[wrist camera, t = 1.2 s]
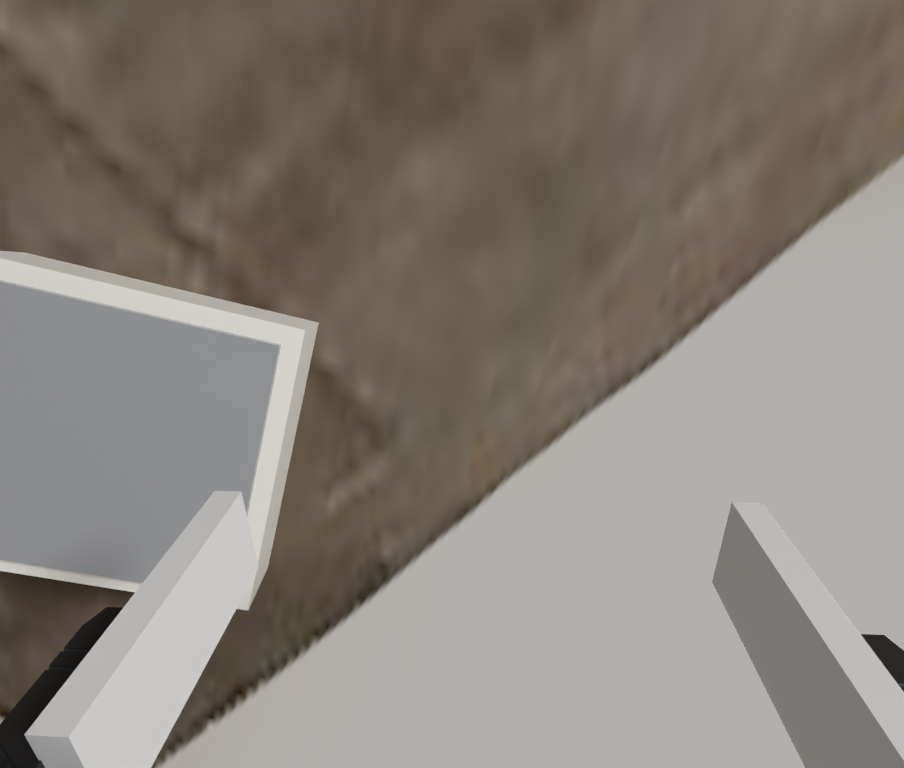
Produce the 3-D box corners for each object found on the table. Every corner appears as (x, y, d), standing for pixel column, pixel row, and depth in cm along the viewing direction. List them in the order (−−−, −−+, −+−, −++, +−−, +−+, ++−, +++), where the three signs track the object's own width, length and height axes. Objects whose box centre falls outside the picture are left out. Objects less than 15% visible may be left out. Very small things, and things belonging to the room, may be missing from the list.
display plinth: (24, 252, 29) (-52, 247, 24) (318, 322, 31) (303, 330, 26) (-5, 520, 32) (-79, 564, 27) (268, 567, 34) (245, 616, 29)
